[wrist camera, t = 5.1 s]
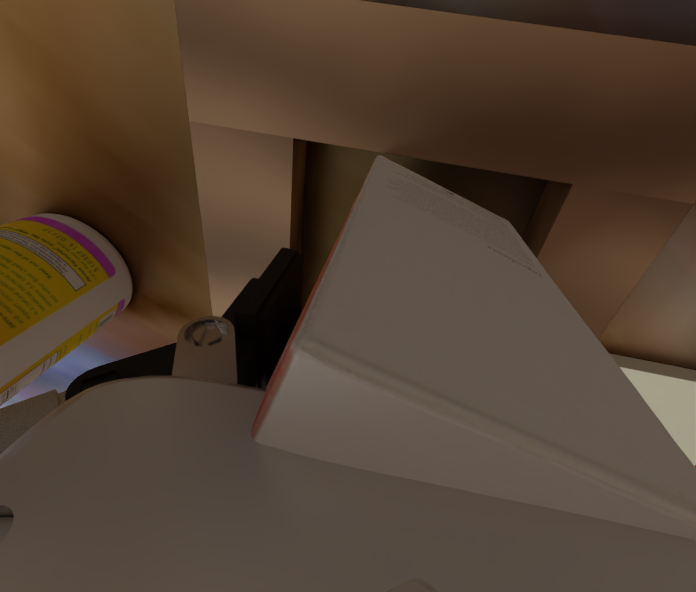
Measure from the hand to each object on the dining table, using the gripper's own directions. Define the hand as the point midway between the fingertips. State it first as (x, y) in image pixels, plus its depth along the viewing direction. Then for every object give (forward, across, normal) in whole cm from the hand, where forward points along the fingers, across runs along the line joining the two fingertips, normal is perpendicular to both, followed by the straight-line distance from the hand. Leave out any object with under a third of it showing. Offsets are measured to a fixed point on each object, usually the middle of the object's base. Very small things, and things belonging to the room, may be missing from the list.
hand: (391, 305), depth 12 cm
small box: (+3, 0, 0) cm, 3 cm away
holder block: (+5, 0, +1) cm, 5 cm away
